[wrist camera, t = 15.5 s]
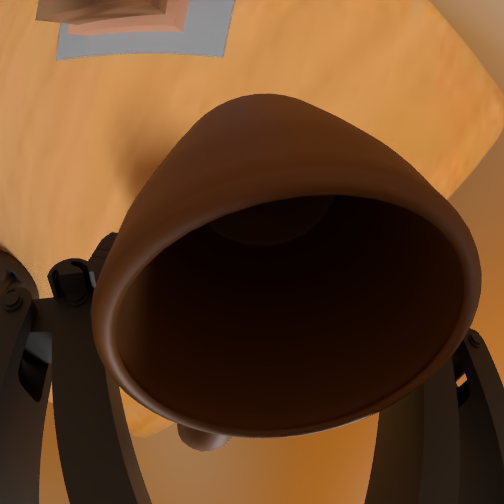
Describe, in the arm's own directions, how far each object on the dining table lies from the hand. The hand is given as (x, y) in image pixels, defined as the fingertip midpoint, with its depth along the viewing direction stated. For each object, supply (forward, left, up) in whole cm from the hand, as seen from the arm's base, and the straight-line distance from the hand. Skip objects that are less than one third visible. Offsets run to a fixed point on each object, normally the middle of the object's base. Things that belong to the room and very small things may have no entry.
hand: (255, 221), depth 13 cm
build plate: (-14, +16, -21) cm, 30 cm away
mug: (0, 0, 0) cm, 1 cm away
